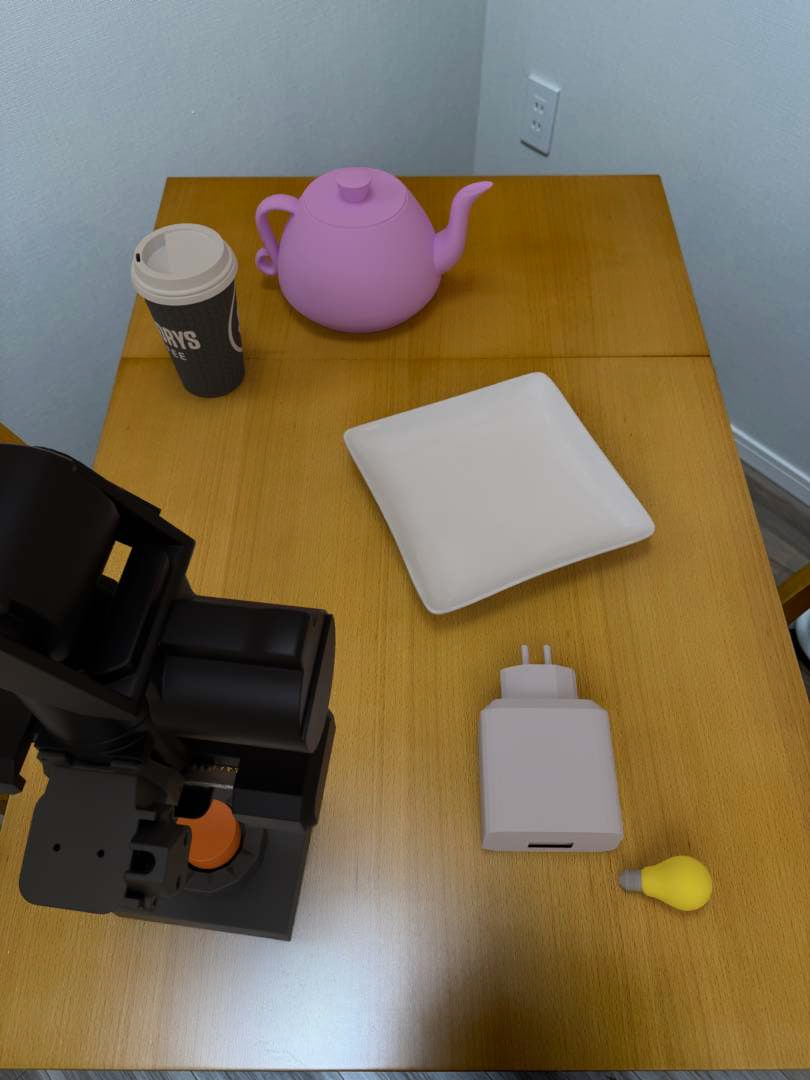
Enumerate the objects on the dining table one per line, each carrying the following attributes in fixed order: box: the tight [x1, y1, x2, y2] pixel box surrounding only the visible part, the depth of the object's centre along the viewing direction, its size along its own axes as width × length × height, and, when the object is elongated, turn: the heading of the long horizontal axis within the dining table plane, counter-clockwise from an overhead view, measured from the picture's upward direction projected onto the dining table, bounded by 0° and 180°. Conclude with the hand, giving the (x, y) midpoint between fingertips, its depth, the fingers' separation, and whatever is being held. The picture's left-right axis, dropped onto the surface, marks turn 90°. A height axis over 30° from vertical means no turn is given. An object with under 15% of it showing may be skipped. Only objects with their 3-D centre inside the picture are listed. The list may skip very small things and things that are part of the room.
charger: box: [477, 644, 625, 853], centre depth 62 cm, size 5×9×15 cm
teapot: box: [254, 166, 494, 334], centre depth 89 cm, size 25×18×14 cm
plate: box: [342, 371, 656, 616], centre depth 76 cm, size 21×21×3 cm
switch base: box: [111, 787, 313, 942], centre depth 59 cm, size 12×10×4 cm
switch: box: [177, 799, 241, 869], centre depth 56 cm, size 4×4×2 cm
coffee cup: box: [130, 222, 246, 399], centre depth 81 cm, size 10×10×15 cm
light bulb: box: [618, 854, 714, 912], centre depth 57 cm, size 3×6×4 cm, turn 84°
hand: (183, 797), depth 50 cm, fingers closed
